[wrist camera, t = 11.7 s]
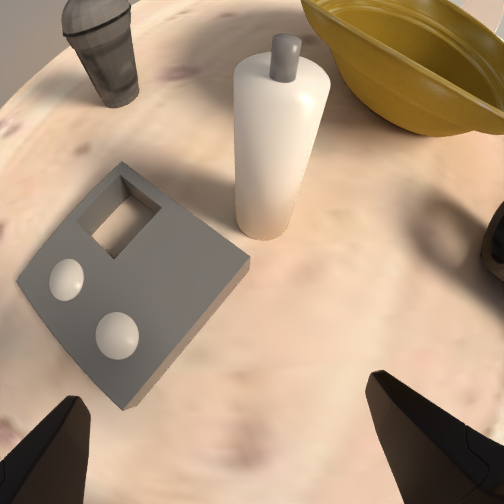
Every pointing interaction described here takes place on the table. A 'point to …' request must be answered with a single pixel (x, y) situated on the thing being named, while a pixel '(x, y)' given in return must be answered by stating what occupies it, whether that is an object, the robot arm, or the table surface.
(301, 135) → the white lotion bottle
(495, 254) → the muzzle brake
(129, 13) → the beverage cup
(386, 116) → the planter bowl
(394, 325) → the table surface
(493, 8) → the milk
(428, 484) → the robot arm
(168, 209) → the charging dock
